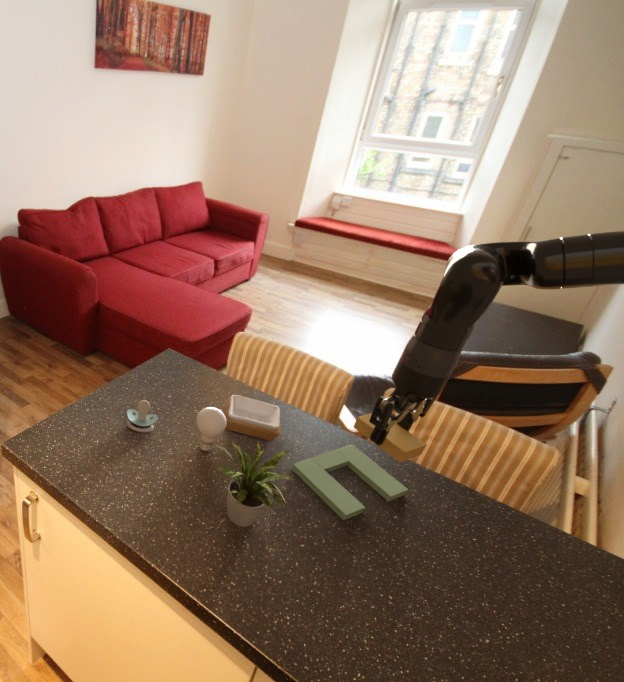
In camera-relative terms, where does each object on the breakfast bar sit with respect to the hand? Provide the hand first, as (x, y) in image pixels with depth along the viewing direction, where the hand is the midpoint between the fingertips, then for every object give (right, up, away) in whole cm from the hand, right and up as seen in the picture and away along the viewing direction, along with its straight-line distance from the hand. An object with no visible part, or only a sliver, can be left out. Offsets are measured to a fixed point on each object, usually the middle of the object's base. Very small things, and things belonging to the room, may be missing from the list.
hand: (387, 437), depth 84 cm
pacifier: (-45, -2, +21) cm, 50 cm away
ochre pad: (0, -1, 0) cm, 1 cm away
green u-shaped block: (-2, -11, +10) cm, 15 cm away
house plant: (-29, -15, 0) cm, 33 cm away
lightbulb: (-31, -6, +15) cm, 35 cm away
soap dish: (-19, -2, +24) cm, 30 cm away
